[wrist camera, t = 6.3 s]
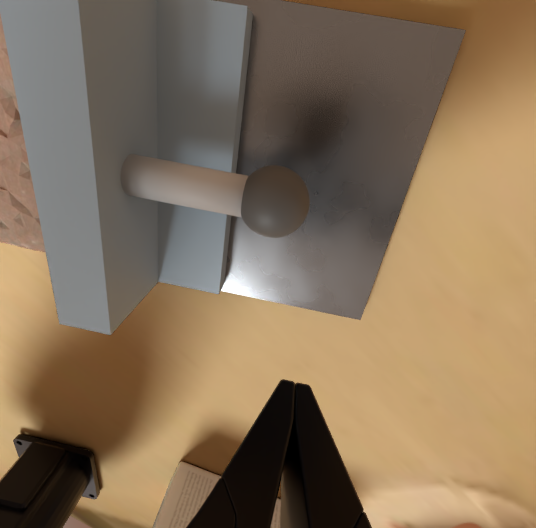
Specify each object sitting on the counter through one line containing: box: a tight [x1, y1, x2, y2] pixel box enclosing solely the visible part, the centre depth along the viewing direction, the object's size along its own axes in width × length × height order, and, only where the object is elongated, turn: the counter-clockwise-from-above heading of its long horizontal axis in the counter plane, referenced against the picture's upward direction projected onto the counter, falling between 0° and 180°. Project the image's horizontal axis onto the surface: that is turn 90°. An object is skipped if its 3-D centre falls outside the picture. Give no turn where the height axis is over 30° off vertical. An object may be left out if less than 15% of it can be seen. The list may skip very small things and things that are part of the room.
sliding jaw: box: [0, 0, 310, 335], centre depth 11 cm, size 11×8×5 cm
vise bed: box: [214, 0, 466, 320], centre depth 14 cm, size 12×10×1 cm
